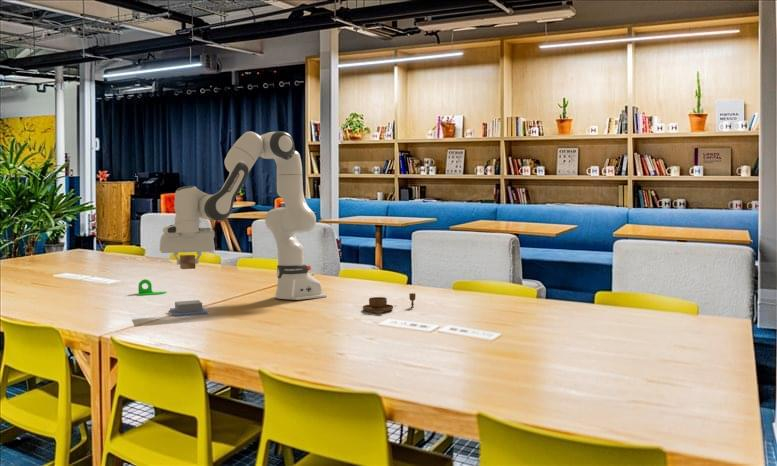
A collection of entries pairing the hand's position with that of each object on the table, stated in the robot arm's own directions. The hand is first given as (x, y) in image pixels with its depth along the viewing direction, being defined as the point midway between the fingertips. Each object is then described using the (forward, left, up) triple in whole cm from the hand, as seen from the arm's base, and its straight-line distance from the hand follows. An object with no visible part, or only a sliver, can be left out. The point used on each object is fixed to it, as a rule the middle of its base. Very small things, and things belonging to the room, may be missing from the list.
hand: (187, 263), depth 256 cm
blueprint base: (0, 0, -19) cm, 19 cm away
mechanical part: (+9, -53, -19) cm, 57 cm away
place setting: (-72, +29, -19) cm, 80 cm away
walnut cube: (0, 0, -2) cm, 2 cm away
